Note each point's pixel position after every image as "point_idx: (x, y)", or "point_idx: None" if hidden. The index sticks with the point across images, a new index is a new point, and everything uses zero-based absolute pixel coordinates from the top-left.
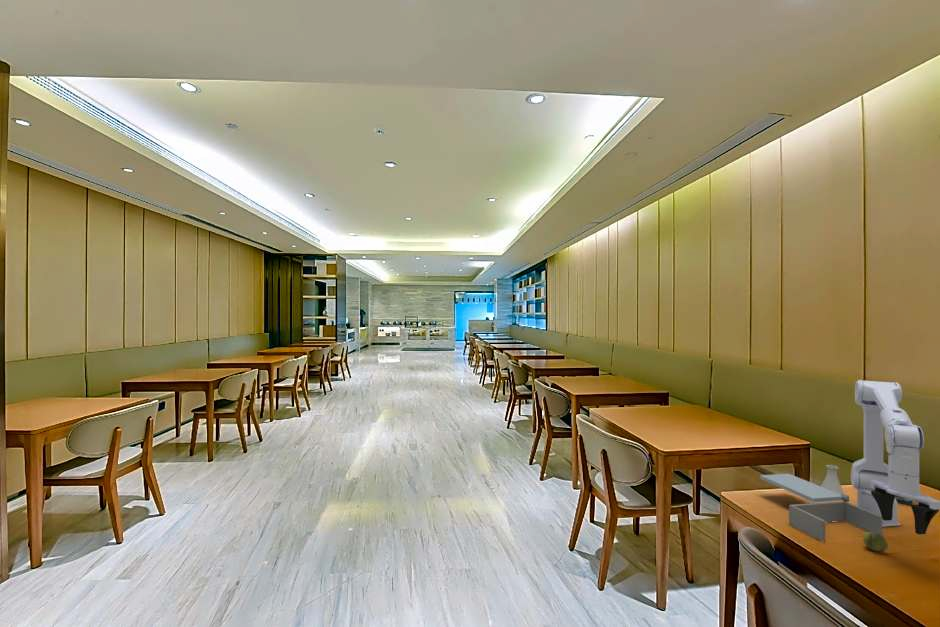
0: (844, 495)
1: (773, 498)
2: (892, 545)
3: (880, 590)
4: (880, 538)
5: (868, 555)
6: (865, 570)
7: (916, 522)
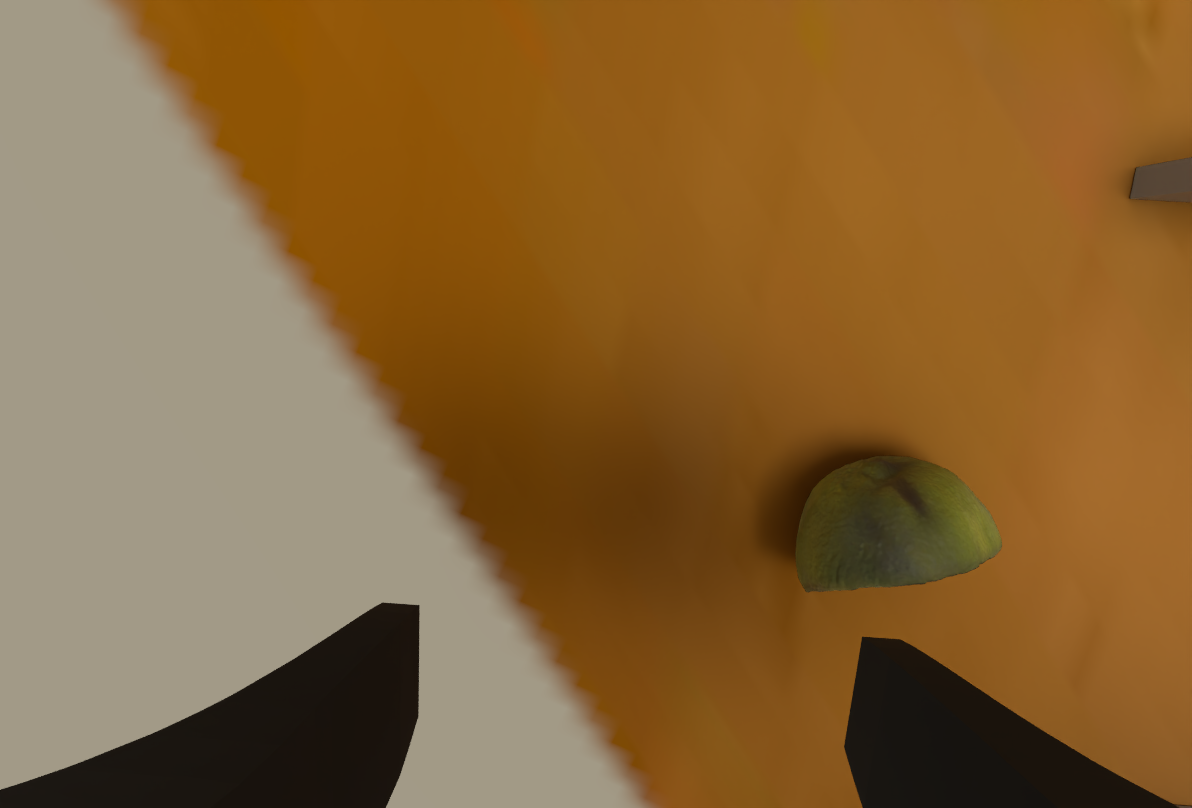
0: None
1: None
2: None
3: None
4: (848, 545)
5: (818, 361)
6: (636, 38)
7: (306, 680)
